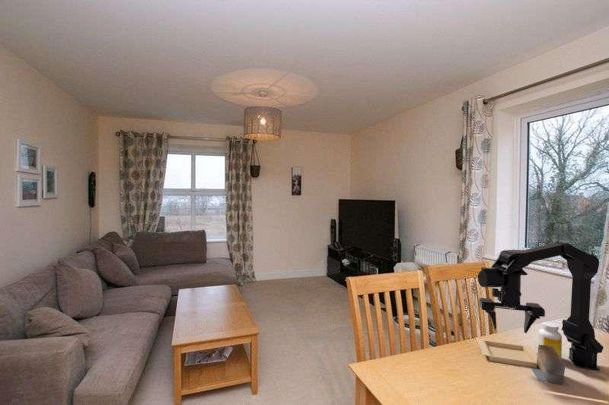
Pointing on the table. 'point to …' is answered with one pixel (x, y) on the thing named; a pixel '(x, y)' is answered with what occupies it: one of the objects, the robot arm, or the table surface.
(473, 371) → the table surface
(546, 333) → the supplement bottle
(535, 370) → the coaster
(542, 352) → the box
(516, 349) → the tray
